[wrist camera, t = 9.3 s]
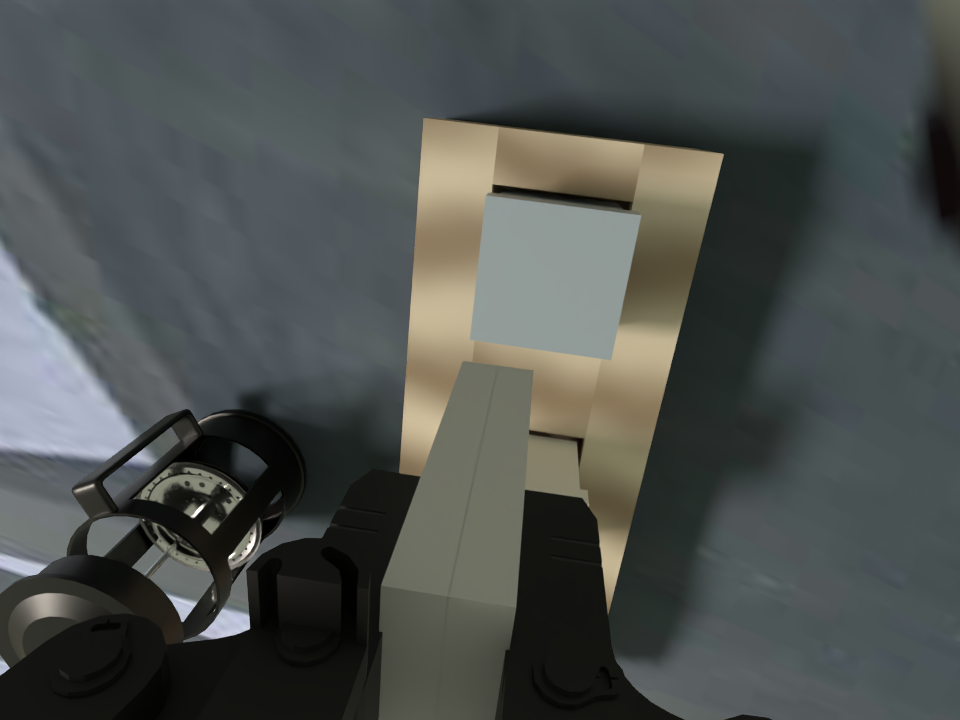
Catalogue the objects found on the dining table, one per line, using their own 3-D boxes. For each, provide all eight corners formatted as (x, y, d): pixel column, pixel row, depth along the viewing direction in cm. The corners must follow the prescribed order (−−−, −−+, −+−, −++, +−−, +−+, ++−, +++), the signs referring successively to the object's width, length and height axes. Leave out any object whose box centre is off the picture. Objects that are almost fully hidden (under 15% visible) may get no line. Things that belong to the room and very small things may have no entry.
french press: (332, 509, 45) (132, 856, 24) (229, 538, 47) (-39, 879, 26) (257, 372, 41) (-58, 636, 20) (149, 410, 44) (-237, 685, 22)
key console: (445, 118, 34) (423, 117, 28) (695, 148, 33) (723, 153, 27) (404, 624, 48) (384, 689, 43) (577, 655, 47) (580, 725, 42)
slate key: (498, 181, 31) (485, 195, 26) (624, 197, 31) (641, 215, 25) (484, 302, 34) (469, 339, 28) (601, 318, 33) (611, 360, 28)
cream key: (467, 420, 34) (449, 482, 28) (583, 438, 34) (589, 504, 28) (456, 515, 37) (437, 590, 31) (563, 532, 36) (565, 612, 30)
